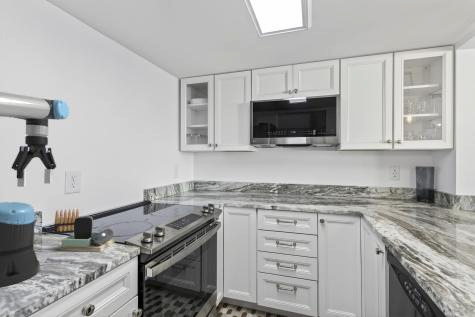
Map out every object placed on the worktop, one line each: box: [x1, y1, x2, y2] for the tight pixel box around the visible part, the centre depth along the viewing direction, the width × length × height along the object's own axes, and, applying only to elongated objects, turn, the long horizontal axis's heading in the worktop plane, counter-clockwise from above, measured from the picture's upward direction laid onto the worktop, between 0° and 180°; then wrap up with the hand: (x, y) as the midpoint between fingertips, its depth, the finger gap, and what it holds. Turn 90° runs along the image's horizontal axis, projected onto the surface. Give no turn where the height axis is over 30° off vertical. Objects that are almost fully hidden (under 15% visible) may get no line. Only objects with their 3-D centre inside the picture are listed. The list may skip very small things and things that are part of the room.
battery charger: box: [73, 215, 94, 239], centre depth 106 cm, size 7×4×11 cm, turn 112°
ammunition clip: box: [53, 208, 80, 235], centre depth 124 cm, size 11×2×12 cm, turn 113°
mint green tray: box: [59, 228, 116, 253], centre depth 106 cm, size 12×17×6 cm
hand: (35, 185), depth 104 cm, fingers open, 13 cm apart
